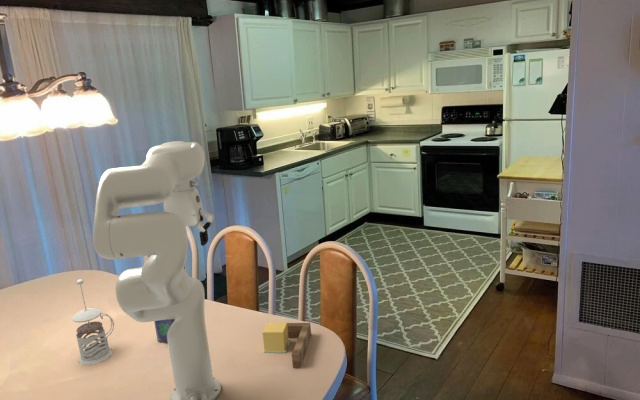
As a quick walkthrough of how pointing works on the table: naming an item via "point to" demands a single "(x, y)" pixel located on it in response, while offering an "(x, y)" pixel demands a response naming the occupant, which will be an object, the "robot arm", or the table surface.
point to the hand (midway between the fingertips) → (188, 244)
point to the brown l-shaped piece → (303, 335)
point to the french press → (95, 350)
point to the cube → (275, 336)
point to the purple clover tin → (163, 329)
